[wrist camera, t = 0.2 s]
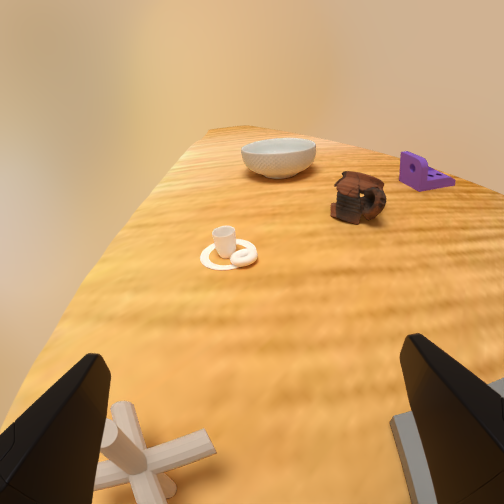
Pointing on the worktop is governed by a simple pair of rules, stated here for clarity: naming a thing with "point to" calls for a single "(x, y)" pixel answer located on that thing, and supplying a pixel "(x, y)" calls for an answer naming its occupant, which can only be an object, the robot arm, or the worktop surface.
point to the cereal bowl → (279, 156)
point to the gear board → (419, 454)
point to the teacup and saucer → (229, 250)
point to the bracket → (421, 173)
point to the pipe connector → (144, 457)
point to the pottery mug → (358, 197)
